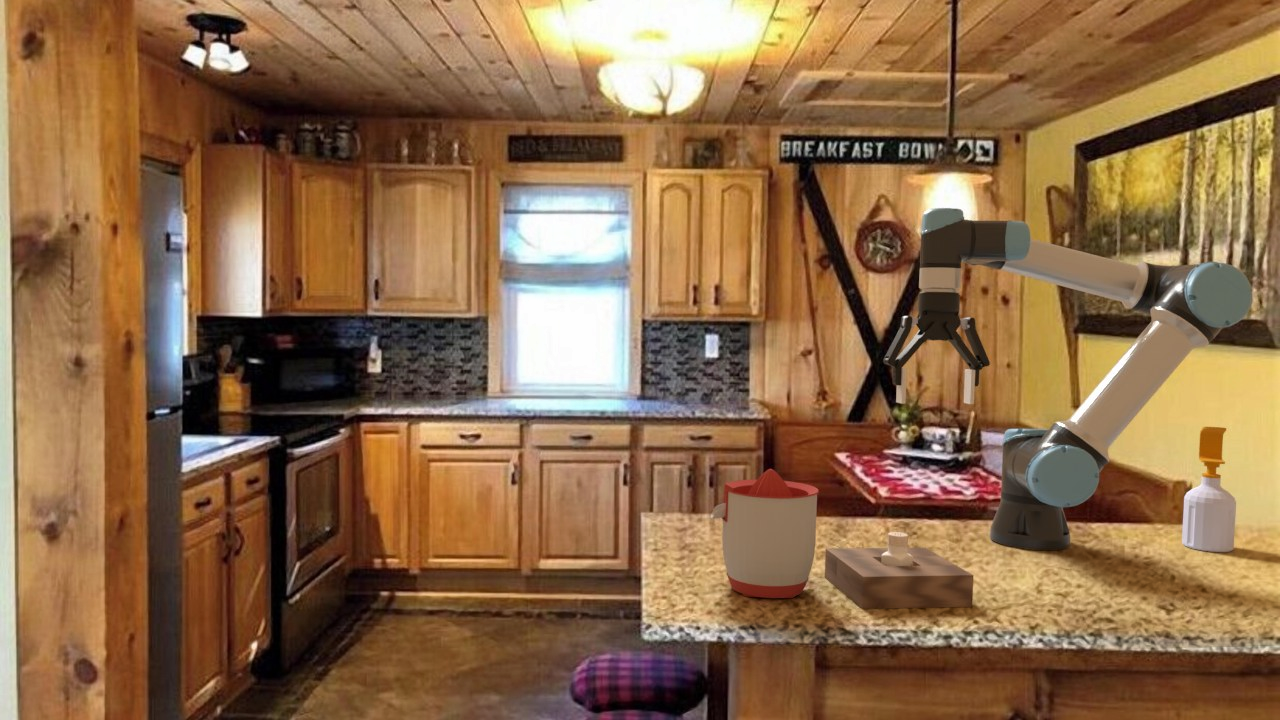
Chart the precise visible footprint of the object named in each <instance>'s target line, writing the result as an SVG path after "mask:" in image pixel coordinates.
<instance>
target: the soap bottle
mask: <svg viewBox="0 0 1280 720" xmlns="http://www.w3.org/2000/svg"><path fill="white" fill-rule="evenodd" d="M1226 432H1227V428H1226V427H1220V426H1217V427H1216V426H1203V427H1202V428H1201V430H1200V432H1199V445H1198V446H1199V447H1198V450H1199V451H1198V460H1199V461H1200V462H1201V463H1203V466H1204V467H1206V472H1203V473H1201V482H1200V484H1199V485H1198V486H1196V487H1193V488H1191V489H1190V490H1188V491H1186V493H1185V495H1184V497H1183V515H1182V530H1181V531H1182V535H1181V543H1182V545H1183V546H1185V547H1186V548H1188V549H1191V550H1192V549H1193V550H1195V549H1196V551H1202V552H1207V551H1208V552H1209V553H1230V552H1232V551H1233V550H1234V548H1235V547H1234V546H1235V532H1236V531H1235V530H1236V512H1237V500H1236V498H1235V497H1234V496H1233V495H1232V494H1231V493H1230V492H1229V491H1228V490H1226V489H1224V488H1223V487H1222V485H1221V483H1222V482H1221V480H1222V479H1221V476H1222V475H1221V474H1219V473H1217V468H1220V465H1225V464H1226V462H1225V460H1223V444H1224V443H1223V441H1224V440H1223V439H1224V434H1225V433H1226Z"/></svg>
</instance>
